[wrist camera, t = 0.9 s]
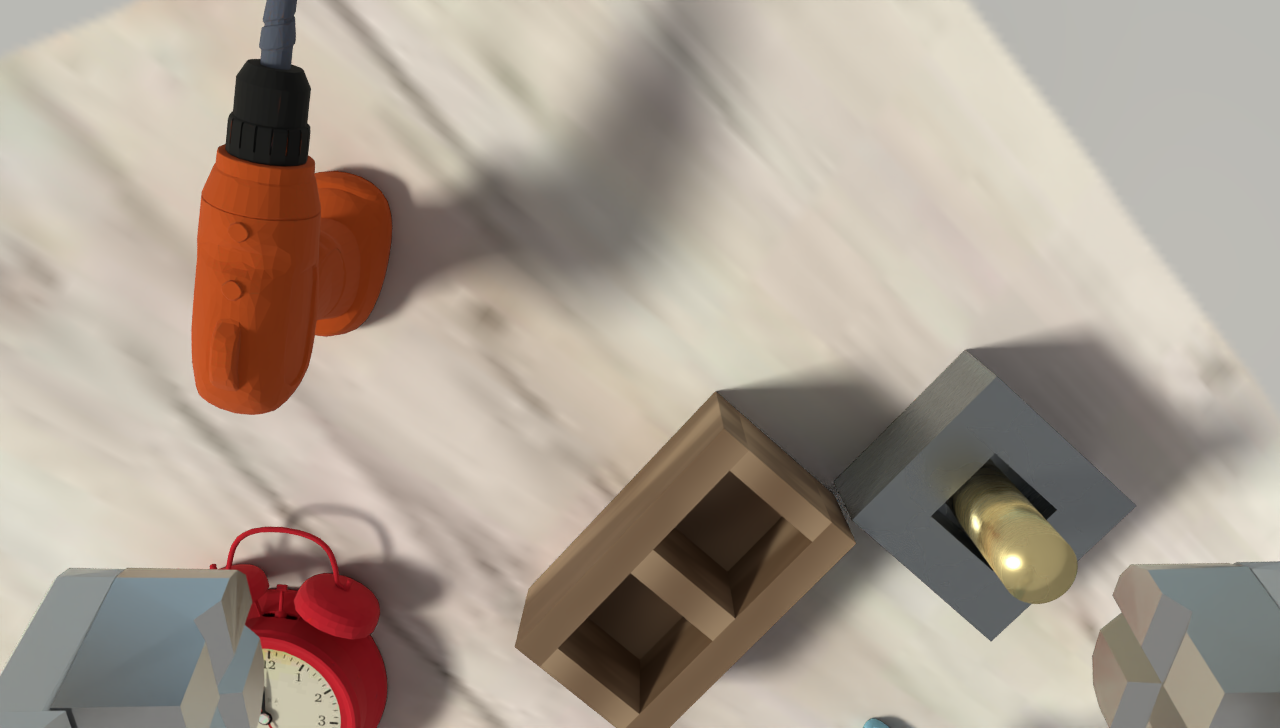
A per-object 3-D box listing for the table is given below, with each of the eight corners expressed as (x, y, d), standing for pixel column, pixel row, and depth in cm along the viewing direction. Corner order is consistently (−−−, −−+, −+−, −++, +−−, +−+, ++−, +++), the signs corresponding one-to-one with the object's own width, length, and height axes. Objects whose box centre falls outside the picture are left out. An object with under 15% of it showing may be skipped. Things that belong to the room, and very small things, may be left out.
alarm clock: (157, 818, 56) (128, 580, 49) (205, 725, 62) (184, 501, 55) (364, 839, 56) (364, 606, 49) (393, 745, 62) (396, 524, 55)
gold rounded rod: (1013, 479, 54) (1093, 566, 44) (968, 523, 55) (1037, 617, 45) (969, 440, 53) (1041, 519, 44) (925, 484, 54) (985, 571, 44)
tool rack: (834, 495, 55) (856, 543, 49) (645, 684, 58) (645, 751, 52) (715, 391, 54) (723, 428, 48) (528, 589, 57) (514, 647, 51)
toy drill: (438, -71, 48) (339, -72, 34) (380, 334, 54) (277, 473, 40) (325, -98, 47) (177, -110, 33) (281, 312, 54) (143, 445, 40)
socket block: (1093, 468, 55) (1136, 505, 50) (961, 593, 56) (991, 641, 52) (965, 349, 53) (996, 376, 49) (834, 481, 55) (851, 519, 50)
